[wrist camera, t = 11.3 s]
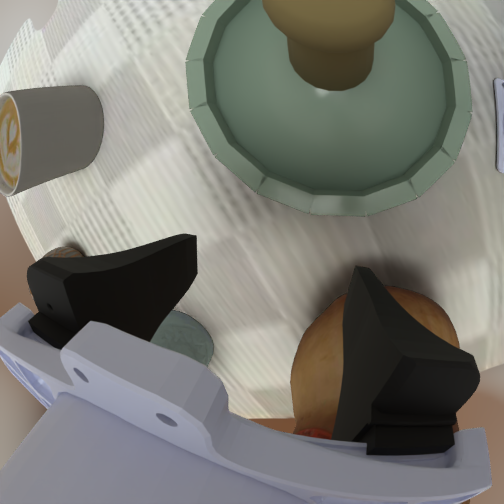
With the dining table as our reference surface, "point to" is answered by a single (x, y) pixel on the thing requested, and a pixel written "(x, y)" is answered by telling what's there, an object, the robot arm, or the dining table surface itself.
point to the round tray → (330, 111)
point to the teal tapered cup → (184, 337)
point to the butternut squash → (331, 361)
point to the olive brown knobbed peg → (331, 37)
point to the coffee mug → (47, 134)
